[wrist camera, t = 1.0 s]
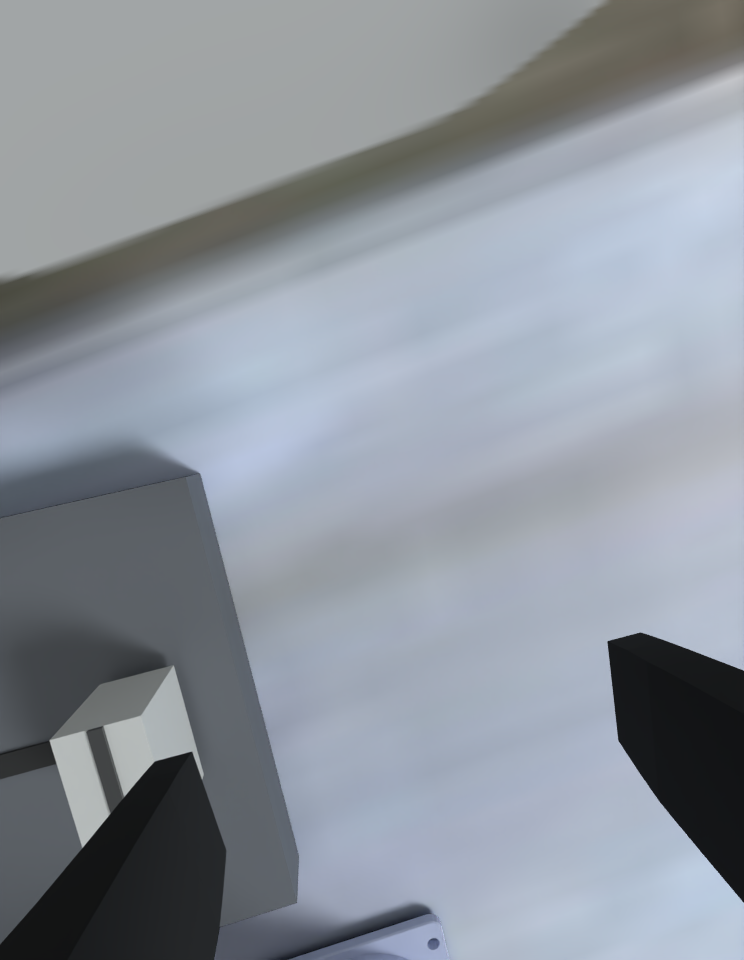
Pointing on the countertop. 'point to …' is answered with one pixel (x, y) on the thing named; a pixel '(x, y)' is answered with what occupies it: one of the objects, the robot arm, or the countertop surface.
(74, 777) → the fader
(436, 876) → the countertop surface
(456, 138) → the countertop surface
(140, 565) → the panel
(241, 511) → the countertop surface
